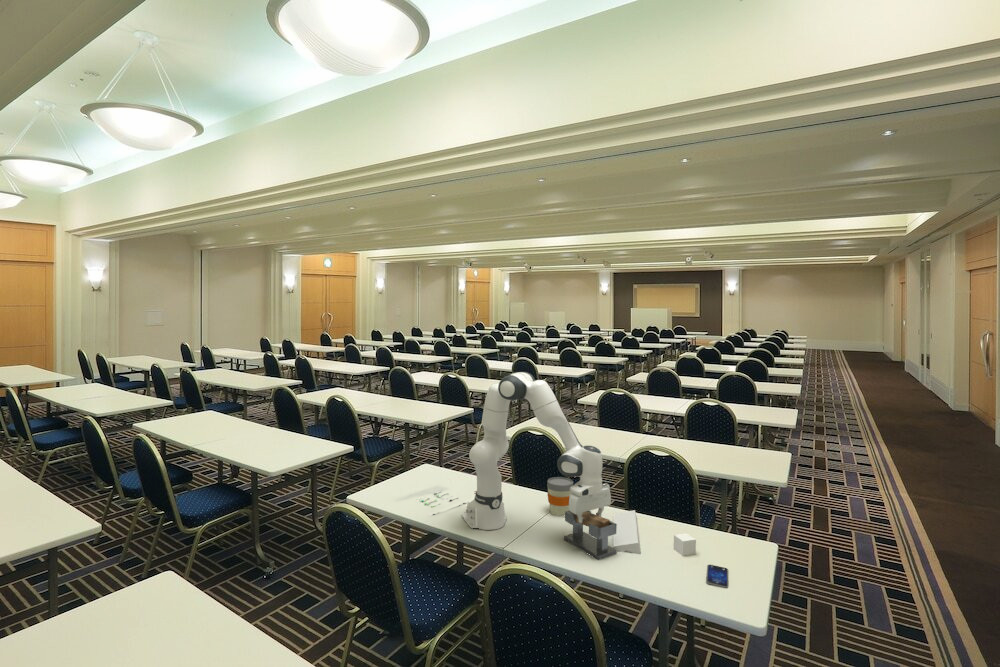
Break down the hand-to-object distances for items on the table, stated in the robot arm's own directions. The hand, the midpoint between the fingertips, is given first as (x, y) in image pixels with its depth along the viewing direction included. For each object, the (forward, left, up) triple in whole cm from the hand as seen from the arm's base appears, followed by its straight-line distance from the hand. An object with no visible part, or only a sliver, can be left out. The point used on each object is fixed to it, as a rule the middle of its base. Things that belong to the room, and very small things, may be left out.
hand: (590, 519), depth 209 cm
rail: (0, 0, -2) cm, 2 cm away
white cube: (+23, +30, -11) cm, 39 cm away
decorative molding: (-1, +22, -12) cm, 25 cm away
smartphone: (+42, +24, -12) cm, 50 cm away
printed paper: (-79, -32, -12) cm, 86 cm away
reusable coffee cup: (-34, +12, -11) cm, 38 cm away
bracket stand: (0, 0, -11) cm, 11 cm away
